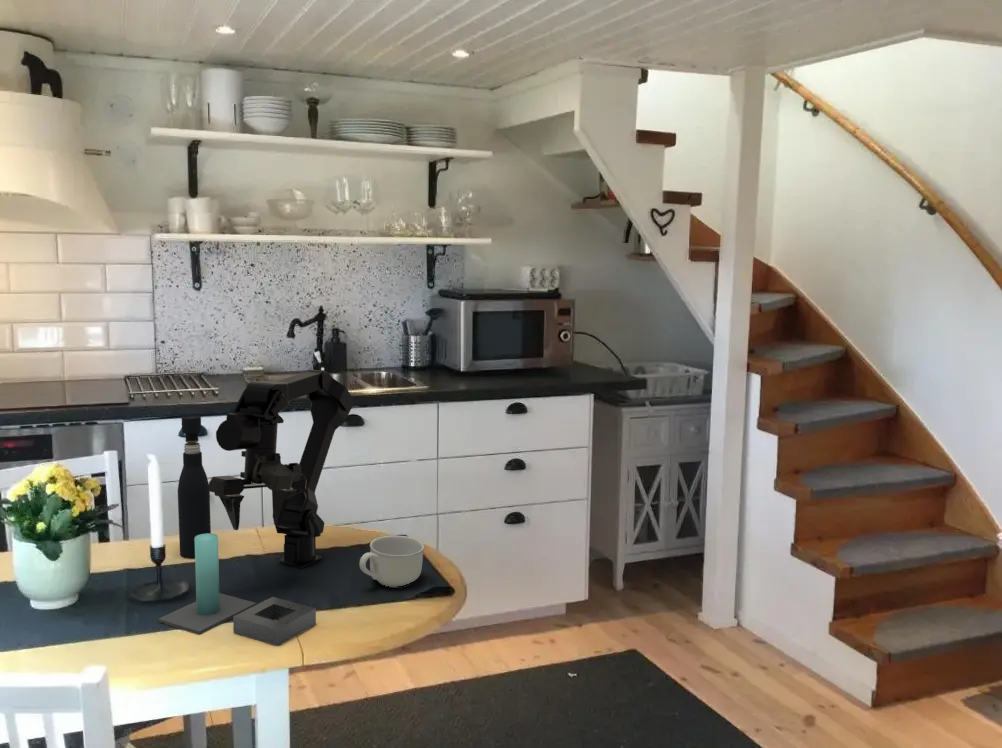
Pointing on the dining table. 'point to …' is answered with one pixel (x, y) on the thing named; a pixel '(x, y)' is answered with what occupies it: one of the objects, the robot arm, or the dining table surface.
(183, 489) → the black bottle
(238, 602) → the rubber pad
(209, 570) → the teal peg
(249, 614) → the socket block
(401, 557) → the teacup
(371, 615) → the dining table surface
